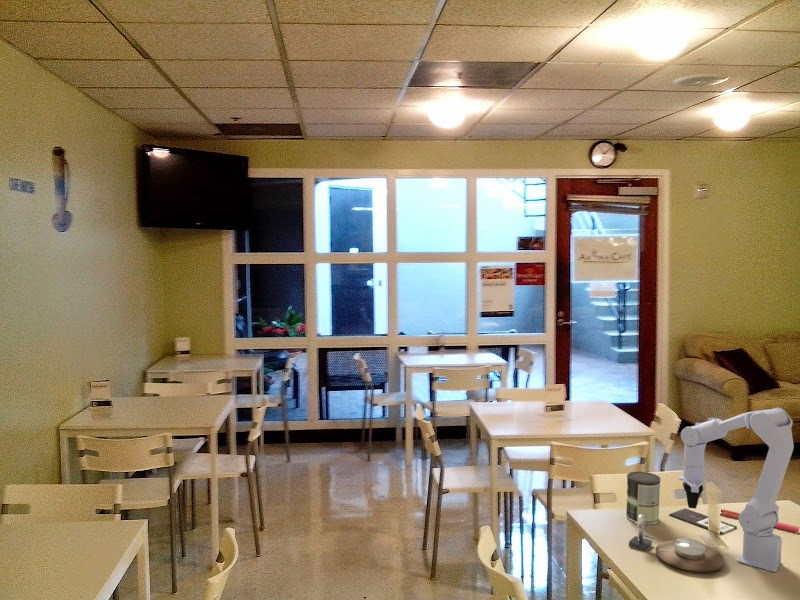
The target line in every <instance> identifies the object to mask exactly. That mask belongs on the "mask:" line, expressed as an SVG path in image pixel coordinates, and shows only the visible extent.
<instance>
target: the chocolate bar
mask: <svg viewBox="0 0 800 600" xmlns="http://www.w3.org/2000/svg"><path fill="white" fill-rule="evenodd" d="M669 517H672V518H675V519H677V520H680V521H683V522H684V523H685V522H686V523H688V524H691V525H693V526H696V527H698V528H701V529H705V530H707V531H709V530H708V517H709V515H707V514H706V515H705V514H702V513H700V512H697V511H694V510H692V509H690V508H689V509H688V508H683V509H680V510H677V511H674V512H672V513H671V512H670V513H669ZM720 521H721V523H720V534H719V535H720V536H721V535H723V534H726V533H728V532H731V531H733V530H736V529H737V527H738V526H736V525H735V524H734V525H733V524H731V523H728V522H726V521H722V520H720Z"/></svg>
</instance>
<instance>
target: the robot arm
mask: <svg viewBox="0 0 800 600" xmlns="http://www.w3.org/2000/svg"><path fill="white" fill-rule="evenodd" d="M793 424H794V421H793V420H792V419H791V417H790V415H789V414H788V413H787V411H786V410H784V409H783V408H781V407H775V408H771V409H761V410H754V411H753V410H752V411H749V412H744V413H741V414H738V415H736V416H732V417H730V418H727V419H725V420H722V419H720V418H717V417H716V418H714V417H710V418H707V420H706V421H703V422H701V421H700V422H695V425H692V426H685V427H684V428H683V429H682V430H681V432H680V439H681V441H682V443H683V445H684V447H683V448H684V449H683V451H684V452H683V472H682V473H683V474H682V475H679V476H678V480H679V481H683V482H682V486H683V487H682V488H683V490H684V491H685V494H686V495H685V496H686V502H687V507H688V508H689V509H697V506H698V503H699V498H700V496H701V494H702V493H703V492H704V485H703V484H704V483H705V479H704V477H705V476H704V472H705V451H706V447H707V446H706V445H707V443H709V442H712V441H715V440H718V439H722V438H726V436H727V434H728V432H729V431H734V430H738V429H741V428H744V427H746V428H747V429H748V430H752V431H753V432H754V433H755V434H756V435H757V436H758V437H759V438H760V439H761V440H762V441H763V442H764V443H765V444H766V445H767V447H768V451H767V455H766V457H765V461H764V464H763V466H762V470H761V472H760V476H759V479H758V482H757V485H756V489H755V491H754V495H753V497H752V498H751V499H750V500H749V501H748V502H747V504H746V505H745V507H744V509H743V510H742V511H741V512H739V513H740V514H739V519H738V523H739V525H740V527H741V528H742V532H743V534H742V535H743V540H742V554H741V555H740V556H739V558H738V559H737V562H738V563H741V564H744V565H747V566H752V567H754V568H760V569H763V570H766V571H770V572H773V573H777V571H778V569H779V567H780V565H781V564H782V543H783V539H782V536H780V535H777V534H775V533H774V527H775V526H776V525H777V524H778V522H779V520H780V519H779V510H780V507H779V505H778V504H777V503H776V502H777V499H778V495H779V493H780V490H781V487H782V485H783V484H782V483H783V481H784V477H785V475H786V472H787V469H788V466H789V463H790V460H791V457H792V454H793V451H794V447H795V446H794V441H793V440H794V439H793V438H794V437H793V432H792V427H793Z"/></svg>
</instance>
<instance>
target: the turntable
mask: <svg viewBox="0 0 800 600" xmlns="http://www.w3.org/2000/svg"><path fill="white" fill-rule="evenodd" d="M675 540H676V539H674V540H667V541H666V540H665V541H662V542H660V543H657V545H656V547H655V555H656V556H657V557H658V558H659V559H660V560H661V562H664V563H666V564H668V565H670V566H672V567H674V568H678V569H682V570H686V571H691V572H696V573H697V572H699V573H701V572H702V573H708V572H710V573H711V572H715V571H719V570H721V569H722V568H723V567H724V566H725V559H726V558H724V556H723V555H722V554H723V553H721V552H719V551H718V550H716V549H714V548H712V547H710V546H707V545H705V559H703V560H700V561H691V560H686V559H683V558H680V557H678V556H677V555H676V554H675V553H674V550H675Z"/></svg>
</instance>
